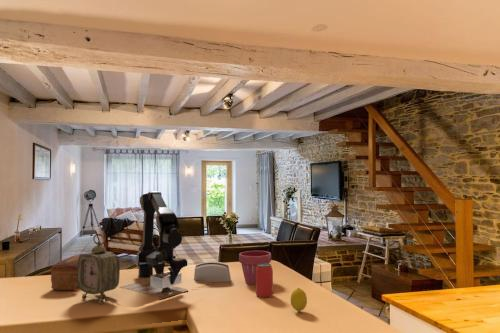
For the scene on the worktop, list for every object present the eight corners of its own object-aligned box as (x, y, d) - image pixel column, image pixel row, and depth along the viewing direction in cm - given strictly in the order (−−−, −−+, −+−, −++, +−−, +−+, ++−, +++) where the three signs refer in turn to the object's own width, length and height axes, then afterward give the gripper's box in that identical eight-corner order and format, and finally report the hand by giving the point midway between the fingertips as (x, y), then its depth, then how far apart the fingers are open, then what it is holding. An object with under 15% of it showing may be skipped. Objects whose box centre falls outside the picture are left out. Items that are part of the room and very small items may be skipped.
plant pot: (234, 284, 163) (234, 254, 163) (246, 277, 176) (246, 249, 176) (265, 287, 157) (264, 256, 158) (275, 279, 170) (275, 251, 171)
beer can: (275, 294, 148) (274, 263, 148) (270, 298, 141) (270, 266, 142) (259, 292, 150) (258, 262, 150) (253, 297, 143) (253, 265, 144)
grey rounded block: (231, 278, 172) (230, 259, 170) (230, 285, 168) (230, 265, 165) (195, 279, 173) (193, 259, 170) (193, 285, 168) (192, 265, 165)
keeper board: (119, 289, 156) (119, 269, 156) (146, 282, 167) (146, 264, 168) (160, 300, 141) (160, 278, 141) (187, 291, 152) (187, 271, 152)
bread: (44, 292, 153) (45, 262, 154) (80, 276, 181) (80, 250, 182) (77, 292, 152) (77, 262, 153) (108, 276, 180) (108, 250, 181)
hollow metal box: (150, 285, 147) (150, 275, 148) (169, 280, 156) (169, 270, 156) (162, 288, 143) (162, 278, 144) (181, 283, 151) (181, 273, 152)
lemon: (289, 309, 129) (289, 286, 129) (305, 309, 129) (304, 285, 130) (292, 315, 123) (292, 290, 124) (308, 314, 124) (308, 289, 124)
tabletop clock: (77, 299, 142) (78, 233, 144) (98, 294, 150) (99, 231, 151) (99, 306, 134) (100, 236, 135) (121, 299, 142) (121, 233, 143)
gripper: (135, 244, 149) (134, 283, 148) (166, 248, 138) (166, 291, 138) (157, 240, 158) (156, 278, 157) (188, 244, 147) (188, 284, 147)
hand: (166, 282), depth 150 cm, fingers closed on hollow metal box, 7 cm apart
